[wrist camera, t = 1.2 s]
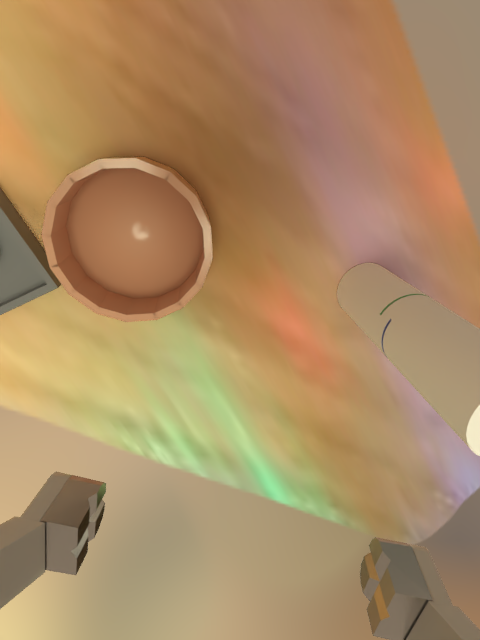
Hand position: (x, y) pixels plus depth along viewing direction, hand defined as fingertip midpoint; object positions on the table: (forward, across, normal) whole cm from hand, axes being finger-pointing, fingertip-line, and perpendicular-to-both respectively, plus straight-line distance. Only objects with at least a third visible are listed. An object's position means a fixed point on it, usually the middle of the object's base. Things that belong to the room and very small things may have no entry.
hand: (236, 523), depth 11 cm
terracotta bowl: (+33, +14, -1) cm, 36 cm away
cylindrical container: (+39, -14, +1) cm, 41 cm away
